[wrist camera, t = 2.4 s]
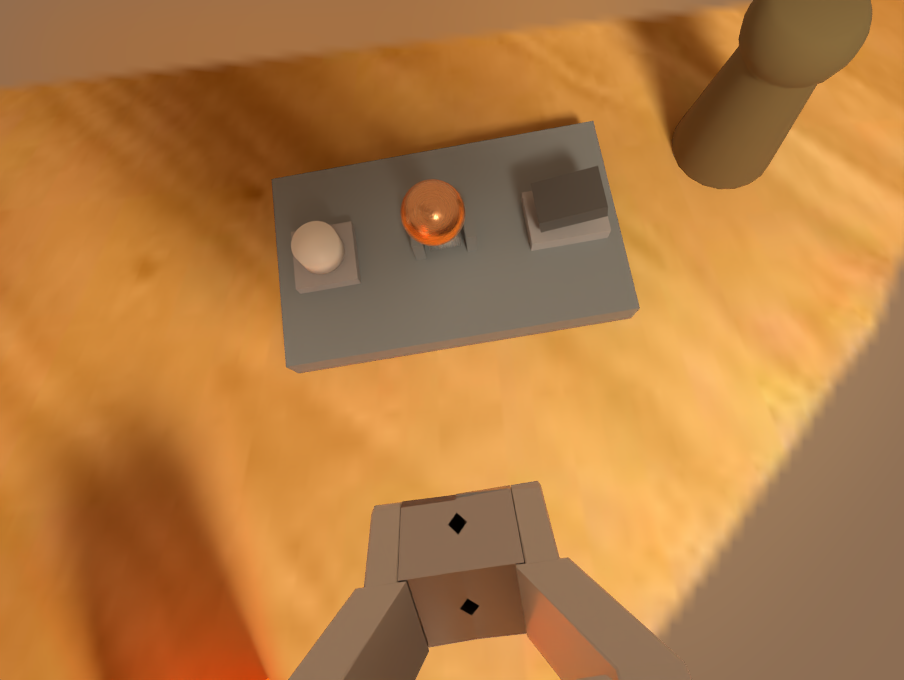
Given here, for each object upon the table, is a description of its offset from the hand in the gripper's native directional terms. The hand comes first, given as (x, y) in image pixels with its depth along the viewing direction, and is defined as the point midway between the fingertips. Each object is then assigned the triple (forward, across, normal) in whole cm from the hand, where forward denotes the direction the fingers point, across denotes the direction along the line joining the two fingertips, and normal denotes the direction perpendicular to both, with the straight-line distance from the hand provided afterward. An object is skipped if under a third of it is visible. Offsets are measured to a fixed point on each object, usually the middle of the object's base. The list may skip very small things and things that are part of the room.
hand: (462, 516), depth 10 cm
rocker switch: (+22, -7, +2) cm, 23 cm away
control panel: (+25, 0, +5) cm, 25 cm away
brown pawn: (+28, -18, +2) cm, 33 cm away
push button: (+23, +7, +3) cm, 24 cm away
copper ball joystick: (+22, 0, +2) cm, 23 cm away
